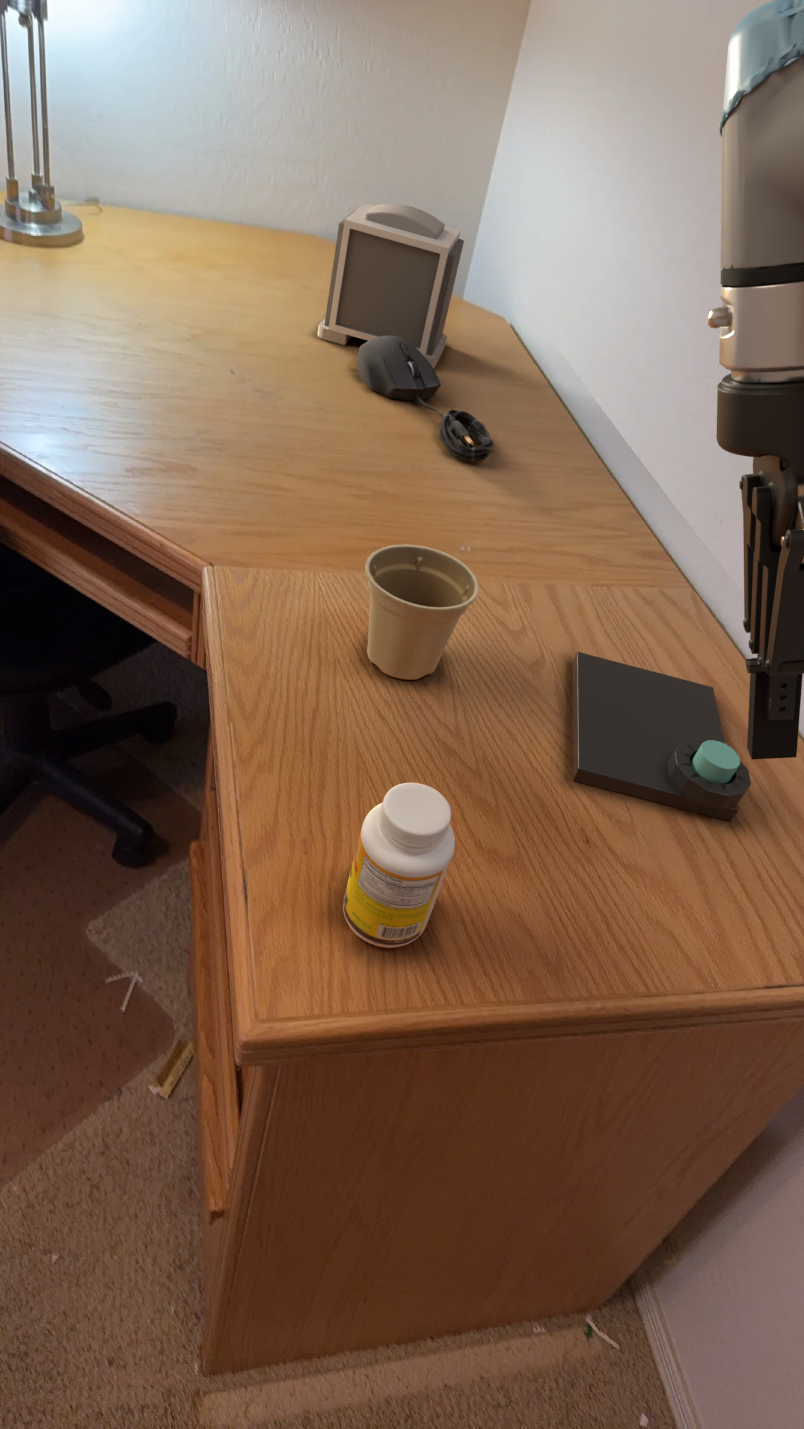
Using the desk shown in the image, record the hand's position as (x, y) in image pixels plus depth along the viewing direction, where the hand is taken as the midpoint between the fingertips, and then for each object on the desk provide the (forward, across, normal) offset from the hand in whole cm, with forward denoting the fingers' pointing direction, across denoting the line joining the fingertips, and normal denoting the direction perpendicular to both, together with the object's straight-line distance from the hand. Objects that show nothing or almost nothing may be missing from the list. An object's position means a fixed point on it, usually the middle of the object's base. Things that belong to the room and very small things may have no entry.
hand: (771, 752), depth 57 cm
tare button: (+8, -10, -2) cm, 13 cm away
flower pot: (-1, -17, -27) cm, 32 cm away
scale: (+8, -16, -6) cm, 19 cm away
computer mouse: (-12, -72, -30) cm, 79 cm away
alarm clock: (-20, -95, -38) cm, 104 cm away
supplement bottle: (+5, +9, -25) cm, 27 cm away
